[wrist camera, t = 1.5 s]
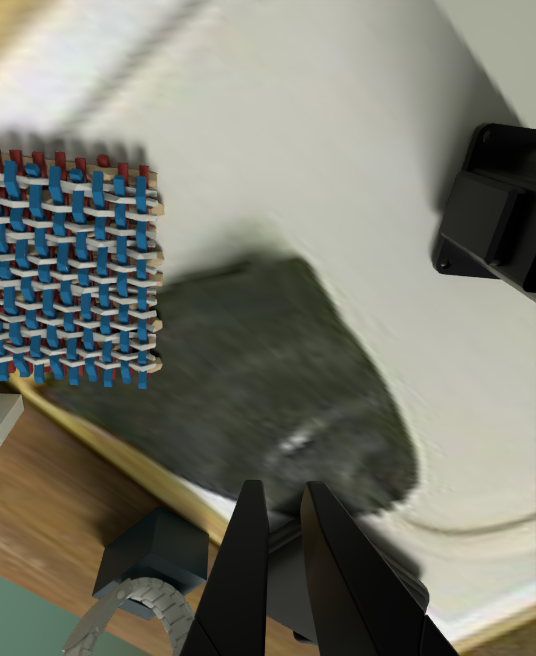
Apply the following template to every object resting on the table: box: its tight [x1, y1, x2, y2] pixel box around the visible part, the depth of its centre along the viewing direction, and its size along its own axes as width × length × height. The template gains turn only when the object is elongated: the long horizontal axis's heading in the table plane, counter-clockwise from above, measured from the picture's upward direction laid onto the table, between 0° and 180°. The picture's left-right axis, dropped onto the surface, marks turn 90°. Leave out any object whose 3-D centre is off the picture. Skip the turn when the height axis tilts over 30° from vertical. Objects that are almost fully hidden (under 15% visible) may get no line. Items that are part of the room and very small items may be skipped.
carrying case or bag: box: [266, 515, 429, 646], centre depth 31 cm, size 11×3×15 cm
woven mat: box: [0, 150, 164, 389], centre depth 19 cm, size 10×11×2 cm
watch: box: [62, 507, 209, 656], centre depth 24 cm, size 6×8×11 cm
